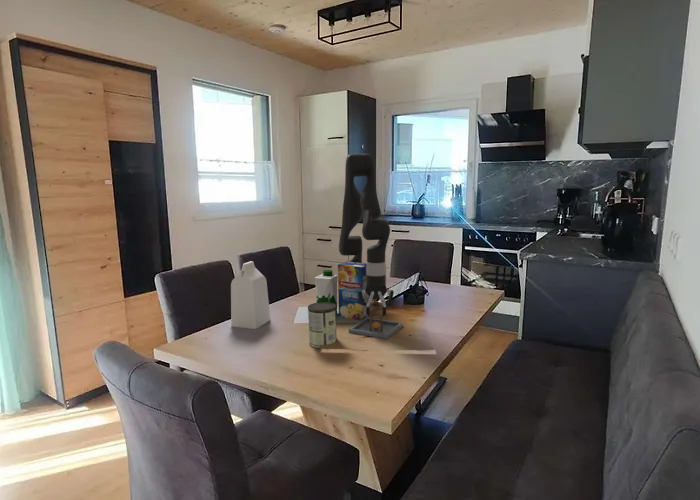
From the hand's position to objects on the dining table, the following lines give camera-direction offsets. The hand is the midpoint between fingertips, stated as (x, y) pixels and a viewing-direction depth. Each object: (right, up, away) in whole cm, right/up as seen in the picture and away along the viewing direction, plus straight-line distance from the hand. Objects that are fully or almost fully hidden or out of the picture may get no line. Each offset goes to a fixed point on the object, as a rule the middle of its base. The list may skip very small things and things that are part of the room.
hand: (376, 315), depth 165 cm
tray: (0, -7, +1) cm, 7 cm away
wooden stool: (0, -5, +1) cm, 5 cm away
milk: (-52, -6, +14) cm, 54 cm away
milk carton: (-21, -4, +22) cm, 30 cm away
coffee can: (-20, -9, -10) cm, 24 cm away
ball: (0, -4, +1) cm, 4 cm away
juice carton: (-8, -4, +18) cm, 20 cm away
